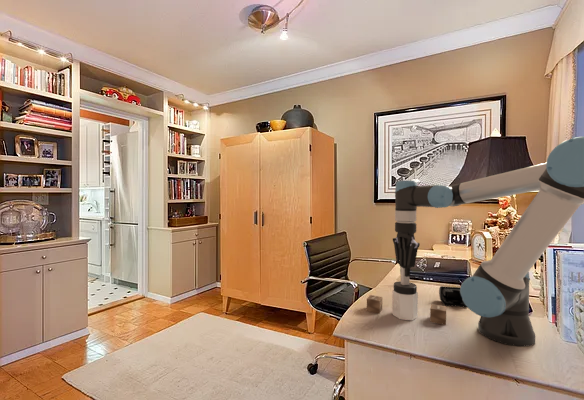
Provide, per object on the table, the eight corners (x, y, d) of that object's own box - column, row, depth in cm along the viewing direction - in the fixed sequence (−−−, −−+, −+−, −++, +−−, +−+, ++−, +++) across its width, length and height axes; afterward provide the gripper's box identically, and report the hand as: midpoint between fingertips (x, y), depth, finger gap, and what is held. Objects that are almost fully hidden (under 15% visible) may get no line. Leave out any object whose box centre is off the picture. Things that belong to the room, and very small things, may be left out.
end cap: (464, 301, 127) (464, 285, 127) (470, 307, 120) (470, 291, 120) (438, 299, 129) (439, 284, 129) (443, 305, 122) (443, 289, 122)
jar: (388, 312, 115) (388, 281, 114) (405, 310, 117) (406, 280, 117) (403, 322, 106) (403, 289, 106) (422, 319, 109) (422, 287, 108)
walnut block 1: (446, 319, 108) (446, 305, 108) (445, 325, 104) (446, 310, 104) (431, 317, 111) (431, 303, 111) (430, 322, 107) (430, 308, 106)
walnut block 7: (382, 309, 118) (382, 296, 118) (379, 313, 114) (379, 300, 114) (369, 307, 121) (369, 294, 120) (366, 311, 116) (366, 298, 116)
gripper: (426, 223, 106) (425, 288, 106) (403, 220, 118) (402, 278, 119) (408, 224, 104) (407, 290, 104) (386, 220, 116) (386, 280, 117)
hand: (405, 284), depth 111 cm, fingers closed
